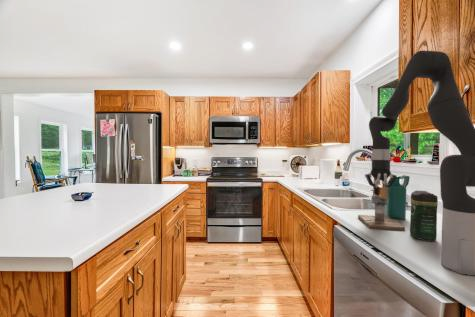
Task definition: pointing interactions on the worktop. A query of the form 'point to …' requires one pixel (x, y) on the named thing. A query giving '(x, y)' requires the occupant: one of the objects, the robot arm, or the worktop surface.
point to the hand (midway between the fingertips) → (380, 195)
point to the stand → (380, 220)
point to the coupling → (381, 196)
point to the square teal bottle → (397, 199)
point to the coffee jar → (423, 215)
